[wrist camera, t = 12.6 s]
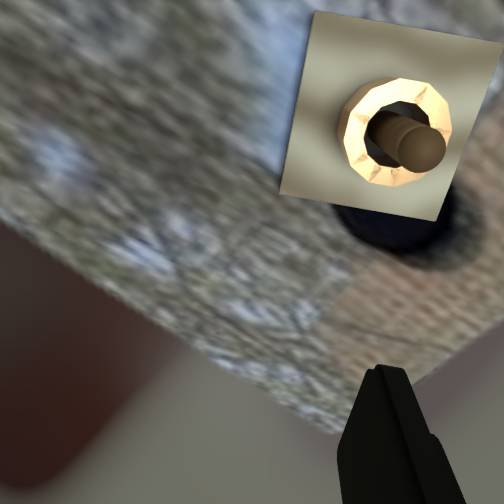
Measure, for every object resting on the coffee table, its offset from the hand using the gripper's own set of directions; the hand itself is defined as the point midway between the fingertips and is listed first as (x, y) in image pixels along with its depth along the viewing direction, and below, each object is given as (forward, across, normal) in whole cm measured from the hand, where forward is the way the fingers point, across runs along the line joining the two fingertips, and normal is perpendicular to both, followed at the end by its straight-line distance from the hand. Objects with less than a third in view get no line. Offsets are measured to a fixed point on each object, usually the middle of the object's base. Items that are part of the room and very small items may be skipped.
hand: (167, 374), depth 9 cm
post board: (+28, -10, -4) cm, 30 cm away
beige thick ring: (+25, -10, -4) cm, 27 cm away
